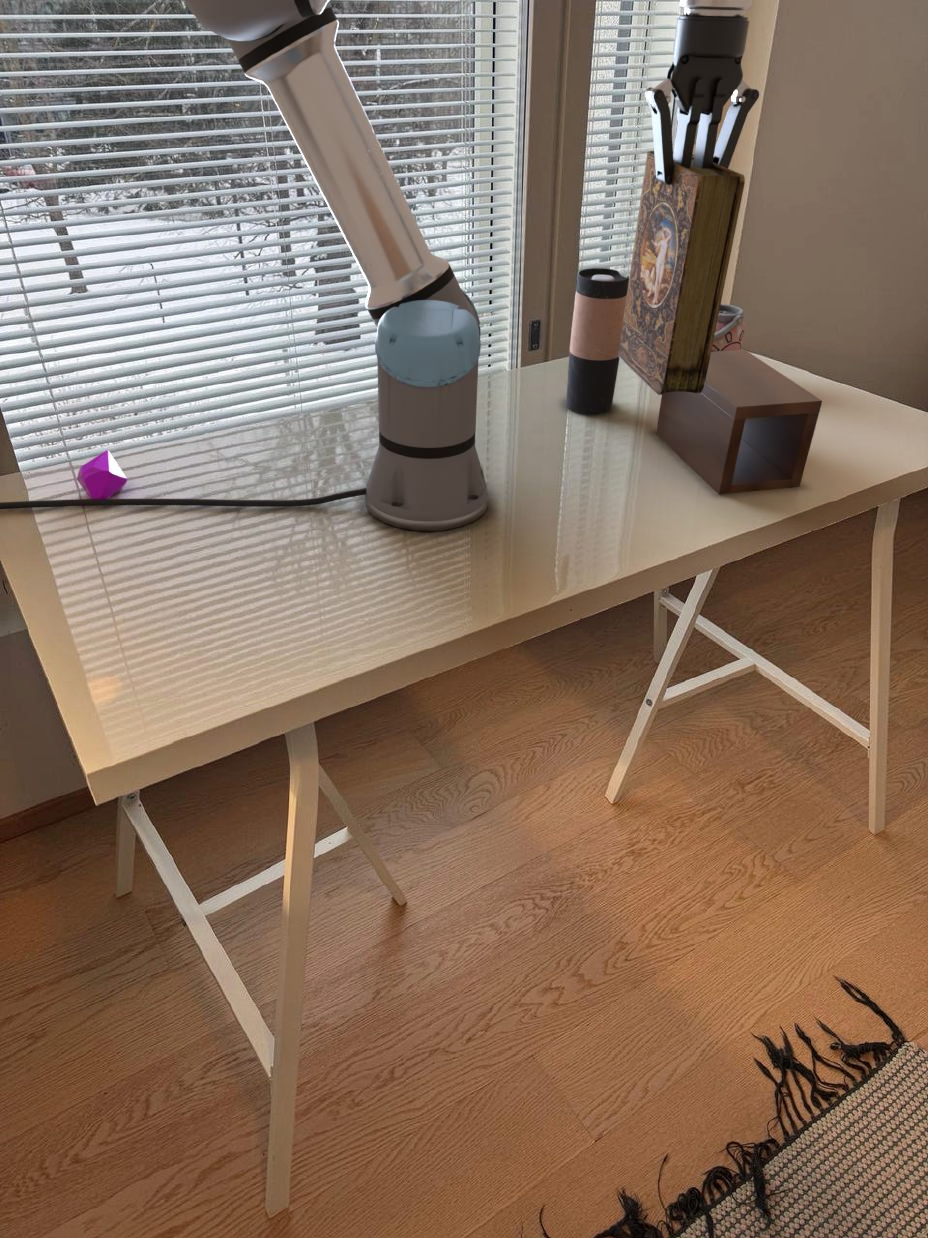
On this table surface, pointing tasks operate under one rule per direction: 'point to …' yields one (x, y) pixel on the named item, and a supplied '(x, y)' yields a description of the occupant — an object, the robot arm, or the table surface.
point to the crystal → (101, 477)
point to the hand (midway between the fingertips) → (679, 247)
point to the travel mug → (595, 340)
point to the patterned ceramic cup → (729, 329)
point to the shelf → (741, 425)
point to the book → (679, 274)
